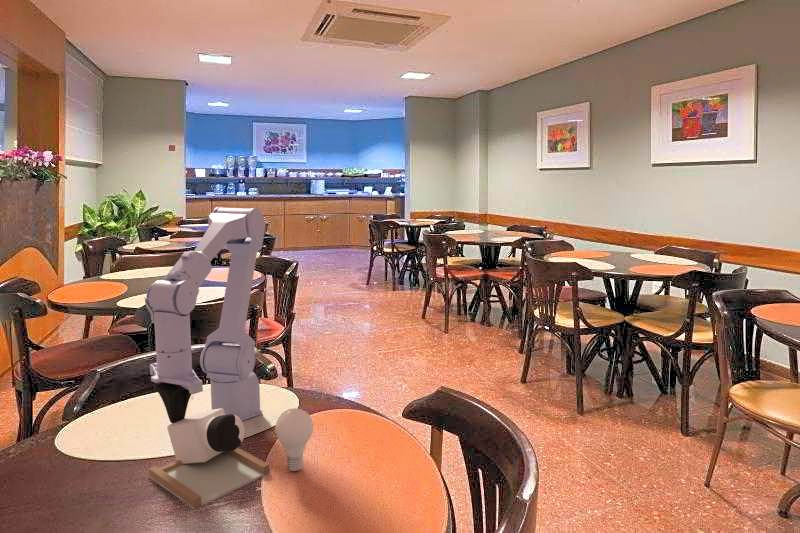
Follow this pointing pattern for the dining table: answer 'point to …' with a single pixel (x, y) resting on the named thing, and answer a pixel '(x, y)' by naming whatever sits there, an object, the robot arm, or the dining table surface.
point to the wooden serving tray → (209, 476)
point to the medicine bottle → (205, 435)
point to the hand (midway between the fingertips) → (177, 421)
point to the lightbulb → (294, 435)
